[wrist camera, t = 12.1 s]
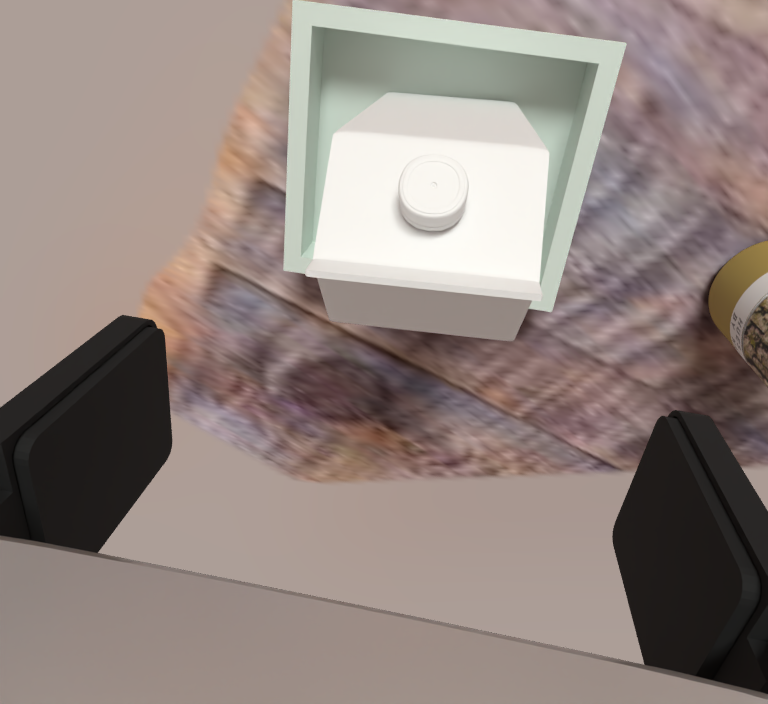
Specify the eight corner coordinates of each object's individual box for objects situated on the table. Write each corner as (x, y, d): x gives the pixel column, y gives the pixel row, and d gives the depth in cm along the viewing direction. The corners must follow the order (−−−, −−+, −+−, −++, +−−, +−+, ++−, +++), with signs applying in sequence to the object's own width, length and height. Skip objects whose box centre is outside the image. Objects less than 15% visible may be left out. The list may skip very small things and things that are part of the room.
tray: (608, 41, 31) (626, 42, 28) (544, 286, 38) (551, 312, 34) (311, 3, 32) (292, -1, 29) (300, 249, 39) (283, 270, 35)
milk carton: (496, 228, 36) (521, 399, 19) (379, 217, 36) (304, 374, 20) (516, 101, 32) (568, 174, 16) (387, 90, 33) (304, 151, 16)
